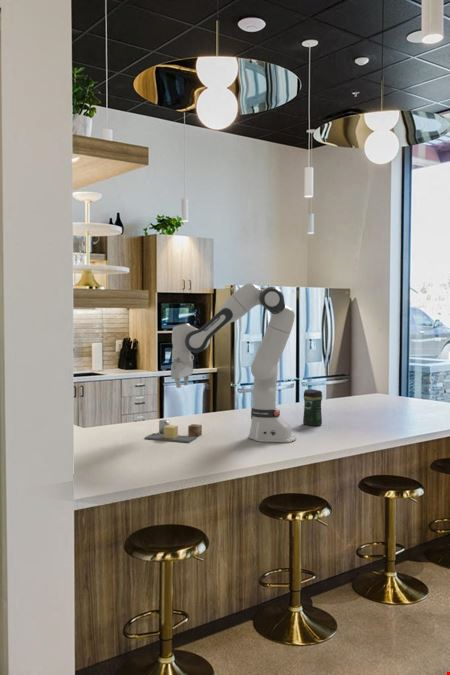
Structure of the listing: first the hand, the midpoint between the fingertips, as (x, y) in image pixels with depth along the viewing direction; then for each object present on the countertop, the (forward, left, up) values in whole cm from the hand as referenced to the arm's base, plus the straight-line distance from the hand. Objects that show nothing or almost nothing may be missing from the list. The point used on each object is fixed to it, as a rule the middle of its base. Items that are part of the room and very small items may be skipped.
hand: (182, 386), depth 308 cm
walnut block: (-6, -3, -24) cm, 25 cm away
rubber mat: (+2, +8, -24) cm, 25 cm away
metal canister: (+10, -3, -24) cm, 26 cm away
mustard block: (+2, +8, -23) cm, 24 cm away
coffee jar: (-54, -51, -24) cm, 78 cm away
